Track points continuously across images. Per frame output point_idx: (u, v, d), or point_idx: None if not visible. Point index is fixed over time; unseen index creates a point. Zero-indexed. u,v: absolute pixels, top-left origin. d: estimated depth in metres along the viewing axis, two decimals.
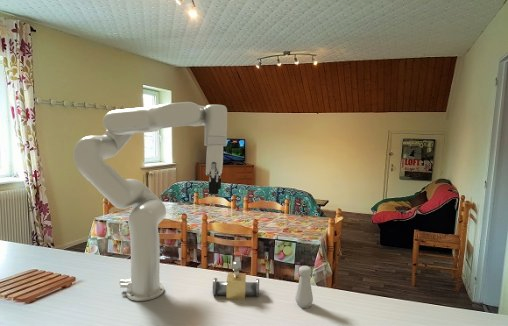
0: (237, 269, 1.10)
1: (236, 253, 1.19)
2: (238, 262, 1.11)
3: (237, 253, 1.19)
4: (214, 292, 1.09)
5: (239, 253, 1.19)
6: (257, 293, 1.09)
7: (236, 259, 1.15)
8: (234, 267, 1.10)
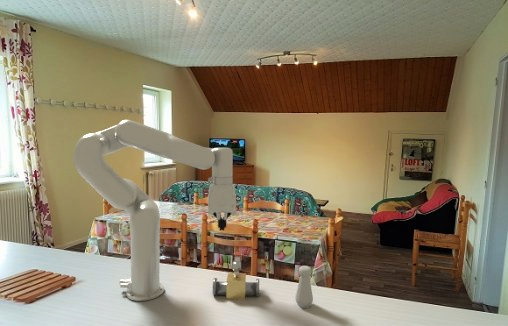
0: (237, 269, 1.10)
1: (236, 253, 1.19)
2: (238, 262, 1.11)
3: (237, 253, 1.19)
4: (214, 292, 1.09)
5: (239, 253, 1.19)
6: (257, 293, 1.09)
7: (236, 259, 1.15)
8: (234, 267, 1.10)
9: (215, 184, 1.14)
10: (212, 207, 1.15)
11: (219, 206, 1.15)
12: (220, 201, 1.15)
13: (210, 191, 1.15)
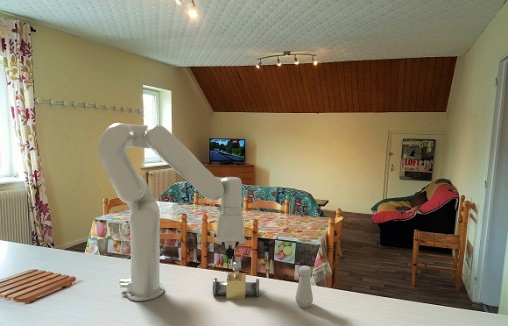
0: (237, 269, 1.10)
1: (236, 253, 1.19)
2: (238, 262, 1.11)
3: (237, 253, 1.19)
4: (214, 292, 1.09)
5: (239, 253, 1.19)
6: (257, 293, 1.09)
7: (236, 259, 1.15)
8: (234, 267, 1.10)
9: (224, 214, 1.15)
10: (221, 236, 1.16)
11: (228, 236, 1.16)
12: (229, 230, 1.16)
13: (219, 221, 1.16)
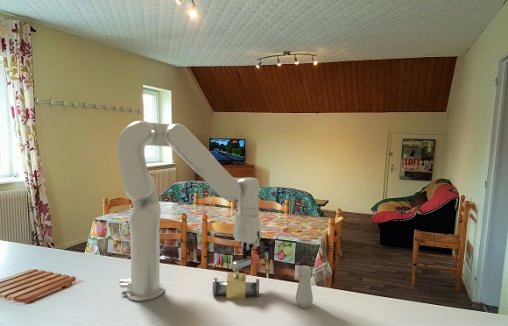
0: (234, 269, 1.10)
1: (251, 255, 1.18)
2: (237, 262, 1.11)
3: (252, 255, 1.17)
4: (214, 292, 1.09)
5: (254, 256, 1.17)
6: (257, 293, 1.09)
7: (243, 260, 1.14)
8: (232, 266, 1.11)
9: (238, 213, 1.17)
10: (236, 235, 1.19)
11: (241, 235, 1.17)
12: (242, 230, 1.17)
13: (235, 219, 1.19)
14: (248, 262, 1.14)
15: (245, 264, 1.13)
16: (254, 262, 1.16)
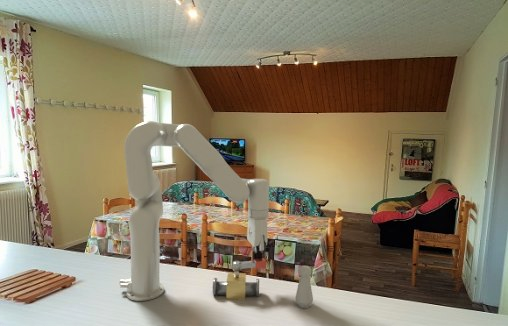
0: (232, 268, 1.11)
1: (258, 259, 1.14)
2: (237, 263, 1.11)
3: (259, 259, 1.14)
4: (214, 292, 1.09)
5: (259, 260, 1.13)
6: (257, 293, 1.09)
7: (245, 262, 1.12)
8: None
9: None
10: (247, 236, 1.18)
11: (249, 237, 1.16)
12: (250, 232, 1.15)
13: (248, 220, 1.19)
14: (251, 265, 1.12)
15: (247, 266, 1.11)
16: (259, 266, 1.12)
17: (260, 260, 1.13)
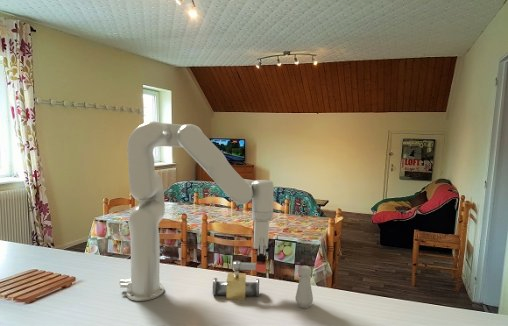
0: (232, 268, 1.11)
1: (260, 262, 1.11)
2: (236, 263, 1.11)
3: (260, 262, 1.11)
4: (214, 292, 1.09)
5: (260, 263, 1.10)
6: (257, 293, 1.09)
7: (246, 263, 1.11)
8: None
9: None
10: None
11: None
12: None
13: None
14: (250, 267, 1.10)
15: (246, 267, 1.10)
16: (258, 269, 1.10)
17: (261, 263, 1.10)
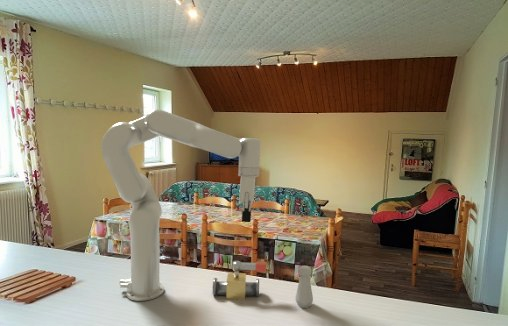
0: (232, 268, 1.11)
1: (260, 262, 1.11)
2: (236, 263, 1.11)
3: (260, 262, 1.11)
4: (214, 292, 1.09)
5: (260, 263, 1.10)
6: (257, 293, 1.09)
7: (246, 263, 1.11)
8: None
9: None
10: None
11: None
12: None
13: None
14: (250, 267, 1.10)
15: (246, 267, 1.10)
16: (258, 269, 1.10)
17: (261, 263, 1.10)
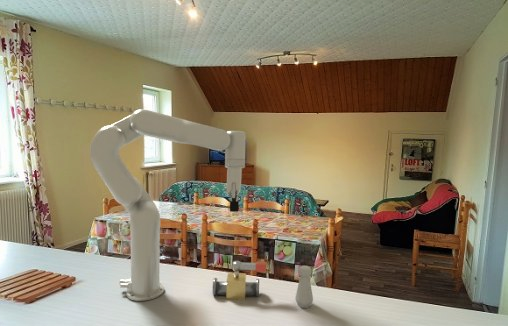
0: (232, 268, 1.11)
1: (260, 262, 1.11)
2: (236, 263, 1.11)
3: (260, 262, 1.11)
4: (214, 292, 1.09)
5: (260, 263, 1.10)
6: (257, 293, 1.09)
7: (246, 263, 1.11)
8: None
9: None
10: None
11: None
12: None
13: None
14: (250, 267, 1.10)
15: (246, 267, 1.10)
16: (258, 269, 1.10)
17: (261, 263, 1.10)
